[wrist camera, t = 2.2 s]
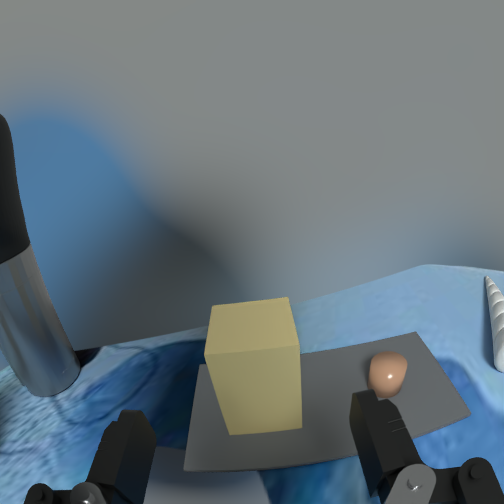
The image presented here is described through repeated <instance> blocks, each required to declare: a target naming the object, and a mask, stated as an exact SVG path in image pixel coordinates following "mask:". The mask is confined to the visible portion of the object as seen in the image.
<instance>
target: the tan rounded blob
mask: <svg viewBox="0 0 504 504" xmlns="http://www.w3.org/2000/svg"><path fill="white" fill-rule="evenodd" d="M406 369H407V361H406V359H405V358H404V356H402V355H401V354H399V353H396V352H392V351H385V352H381V353H378V354H377V355H375V356H374V357H373V358H372V360H371V365H370V371H369V377H368V383H367V387H368V389H373V390H374V391H375V393H376V396H377V397H379V398H391V397H393V396H395V395H397V394H398V393H399V392H400V390H401V388H402V384H403V381H404V377H405V373H406Z"/></svg>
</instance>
